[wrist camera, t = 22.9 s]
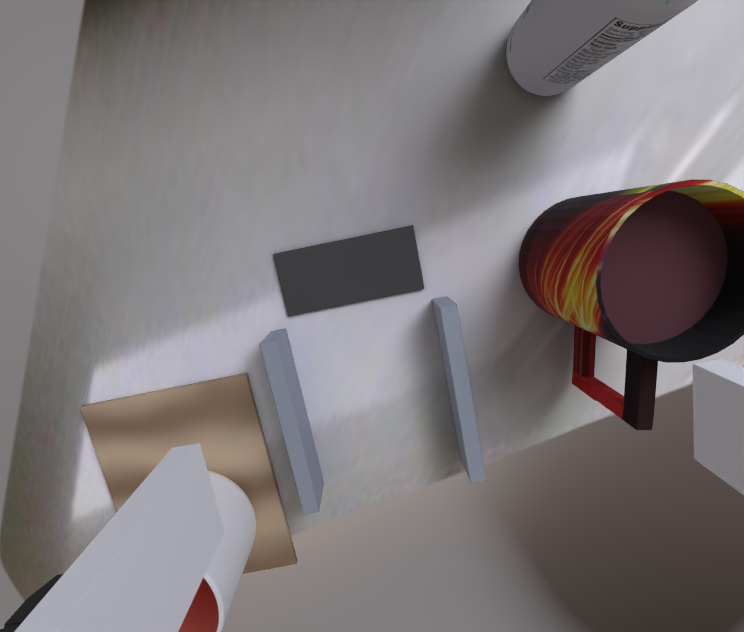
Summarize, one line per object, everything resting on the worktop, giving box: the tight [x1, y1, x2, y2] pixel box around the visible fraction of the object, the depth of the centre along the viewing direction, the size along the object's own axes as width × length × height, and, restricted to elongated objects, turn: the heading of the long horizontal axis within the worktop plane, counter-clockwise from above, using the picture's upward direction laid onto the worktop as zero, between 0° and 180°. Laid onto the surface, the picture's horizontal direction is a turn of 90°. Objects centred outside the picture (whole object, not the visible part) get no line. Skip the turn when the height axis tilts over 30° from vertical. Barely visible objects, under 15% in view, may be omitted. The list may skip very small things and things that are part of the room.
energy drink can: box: [507, 0, 697, 96], centre depth 25 cm, size 6×6×15 cm
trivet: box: [80, 373, 297, 574], centre depth 38 cm, size 18×14×1 cm
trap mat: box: [273, 225, 424, 316], centre depth 35 cm, size 5×11×1 cm, turn 101°
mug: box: [519, 180, 744, 430], centre depth 30 cm, size 10×14×12 cm
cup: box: [178, 471, 256, 632], centre depth 34 cm, size 10×10×10 cm
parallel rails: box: [260, 296, 486, 514], centre depth 35 cm, size 14×14×4 cm
